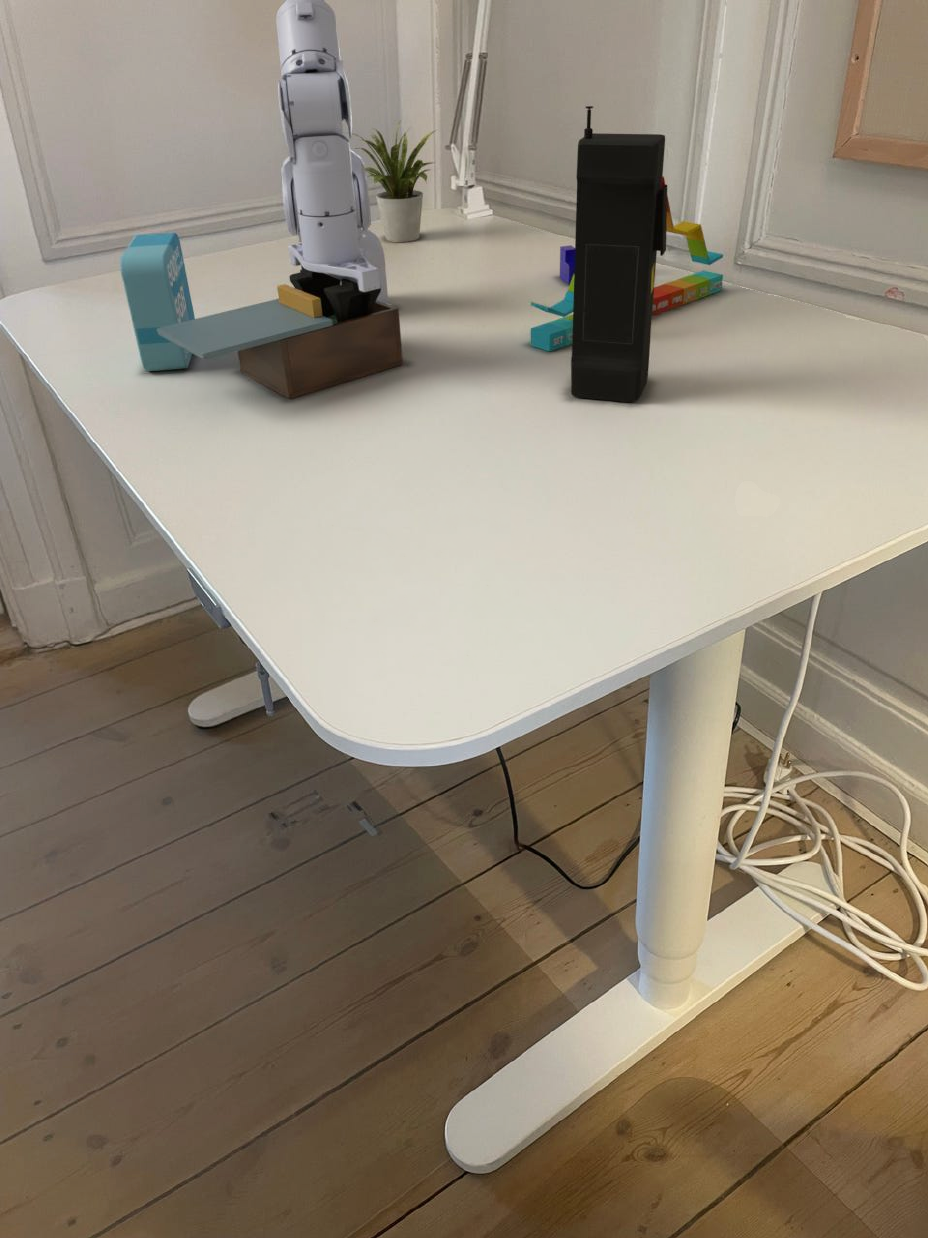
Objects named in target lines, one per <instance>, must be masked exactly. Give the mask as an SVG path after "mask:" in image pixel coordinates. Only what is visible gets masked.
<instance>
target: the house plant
mask: <svg viewBox="0 0 928 1238" xmlns="http://www.w3.org/2000/svg"><path fill="white" fill-rule="evenodd" d="M401 122H402V119H401V120H400V121H399V122H398V124H397V128H396V131H395V140H394V145H392V146H391V147H390V153H389V152H388V149H387V145H386V142H385V139H384V137H383V135H382V134H381V132H380V131H378V130H377V129H376V128H373V127H372V129H373V130H375V131H376V132H377V135H378V136H379V137H378V136H377V135H376V134H375V133H373V132H372V131H370V136H371V138H372V140H373V141H374V142H373V141H371V140H369V139H364V138H363V137H362V136H360V135H358V134H356V133H352V135H354V136H355V137H356V136H357V137H358V138H360V139H361V141H364V142H365V144H367V145H368V147H369V148H370V150H371V151H372V152H373V154H374V155H375V156H374V155H373V154H372V152H370V150H368V149H366V148H364V147H354V148H353V149H354V150H355V149H356V150H358V149H359V150H362V151H364V152H365V153H366V154H367V155H368V156H369V158H371V160H372V161H373V162H374V164H375V165H376V167H377V169H378V170H379V171H378V170H377V169H376V168H373V167H371V166H369V167H365V173H368V174H369V175H366V177H367V178H368V177H373V178H374V179H373V186H374V187H375V186H376V184H377V183H379V184H380V185H381V186H382V187H383V189H384V190H385V191H382V192H379V193H377V194H376V196H375V197H376V202H377V207H378V211H379V215H380V219H381V223H382V228H383V233H384V236H385V240H386V241H388V242H393V243H405V242H406V243H408V242H413V241H416V240H418V239H419V238H420V232H421V223H422V222H421V221H422V210H423V200H424V199H423V198H424V192H422V191H419V190H415V189H414V188H415V185H416V183H417V181H418V179H419V178H420V177H421V178H422V179H423V180H424V181H425V183H426V185H427V180H428V175H427V174H426V172H429V171H431V169H430V168H429V169H428V168H427V169H424V170H422V171H421V169H422V168H423V167H425V166H427V165H432V164H435V163H436V161H432V162H431V161H430V162H423V160H422V159H417V160H416V158H417V156H418V154H419V153H420V151H421V150H422V148H423V147H424V145H425V144H426V142H427V140H429V138H430V136H431V135H432V134H434V133H435V132H437V129H436V130H435V129H434V130H433V131H430V132H429V133H427V134H426V135H425V136H424V137H423V138H421V140H420V141H419V143H418V144H417V146H415V147H414V149H413V150H412V151H411V153H410V155H409V156H408V158H407V152H408V136H407V132H404V134H403V135H402V136H401V138H400V140H399V143H398V132H399V128H400V124H401ZM411 128H412V126H409V128H408V129H407V131H409V130H410V129H411ZM343 134H345V132H344V131H343ZM402 140H403V141H402ZM400 148H401V155H400ZM376 158H377V159H378V161H379V162H378V161H377V159H376ZM399 158H400V159H399ZM406 158H407V161H406ZM415 160H416V161H415ZM379 163H380V164H379ZM381 165H382V167H383V169H384V170H385V172H384V170H383V169H382V167H381ZM433 172H435V171H434V170H433ZM385 173H386V174H387V175H386V174H385Z"/></svg>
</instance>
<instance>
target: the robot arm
mask: <svg viewBox="0 0 928 1238" xmlns="http://www.w3.org/2000/svg"><path fill="white" fill-rule="evenodd" d="M275 23H276V25H275V26H276V33H277V43H278V54H279V66H280V76H281V80H278V81H277V97H278V105H279V106H278V107H279V113H280V114H279V115H280V121H281V127H282V128H281V129H282V132H283V135H284V138H285V142H286V146H287V151H288V156H287V157H286V158H285V159H284V160H283V162H282V167H281V168H280V172H281V173H280V174H281V181H282V182H281V192H282V202H283V209H284V210H283V211H284V218H285V224H286V229H287V231H288V232H289V233H290V234H291V236H293V237H295V236H298V242H299V243H296V244H291V245H288V253H289V260H290V261H289V262H290V264H291V265H292V266H295V267H298V266H300V267H301V269H300V270H299V272H295V273H292V274H289V282H290V284H291V285H292V287H293V288H296V289H298V290H301V291H303V292H306V293H308V294H311V295H313V296H316V297H318V298H320V299H321V307H322V316H324V317H329V316H331V315H333V314H335V315H336V318H337V321H338V323H339V322H343V321H346V320H350V319H354V318H358V317H361V316H365V315H369V314H371V313H372V310H373V307H374V304H375V302H376V300H377V301H380V302H382V303H385V304H388V305H390V306H393V304H392V303H390V302H389V296H388V284H387V269H386V268H387V267H386V258H385V253H384V249H383V244H382V242H381V240H380V239H379V237H378V236H377V234H376V233H375V232H373V231H372V230H370V229H369V228H370V227H371V225H372V214H371V203H370V202H371V201H370V191H369V183H368V177H367V174H366V173H365V172H366V171H365V168H366V165H365V162H364V161H363V159H362V157H361V155H359V154H358V153H356V152H355V151H353V150H352V149H351V145H350V140H349V139H352V135H353V116H352V103H351V94H350V87H349V81H348V78H347V75H346V72H345V67H344V61H343V60H342V58H341V49H340V41H339V39H340V38H339V32H338V23H337V16H336V13H335V11H334V9H333V8H332V6H330V4H329V3H327V1H325V0H284V3H282V4H281V6H279V8H278V10H277V12H276V17H275ZM343 121H345V123H346V126H347V129H348V137H349V139H348V138H347V136H345V134H344V133H343V132H344V129H343V127H344V125H343Z"/></svg>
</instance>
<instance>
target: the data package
mask: <svg viewBox="0 0 928 1238" xmlns="http://www.w3.org/2000/svg"><path fill="white" fill-rule="evenodd" d="M119 268H120V275H121V279H122V283H123V288H124V293H125V297H126V300H127V306H128V310H129V314H130V317H131V322H132V327H133V331H134V336H135V340H136V344H137V348H138V353H139V357H140V361H141V364H142V367H143V369H144V370H145V372H155V371H157V372H158V371H169V370H183V369H188V367H189V364H190V362H191V359H192V355H193V354H192V353H191V352H189V351H187V350H185V349H184V348H182V347H180V346H178V345H177V344H175V343H173V342H171V341H169V340H168V339H166V338H164V337H162V336H161V335H159V334H158V331H157V328H161V327H165V326H169V325H173V324H177V323H181V322H185V321H189V320H193V319H196V318H195V312H194V307H193V302H192V296H191V291H190V286H189V281H188V276H187V271H186V265H185V260H184V256H183V250H182V244H181V241H180V238H179V235H178V234H177V233H176V232H164V233H161V232H160V233H147V234H136V235H134V237H133V238H132V240H131V241H130V243H129V244H128V246H127V247H126V249H125V250H124V252H123V254H122V255H121V257H120V259H119Z"/></svg>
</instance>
